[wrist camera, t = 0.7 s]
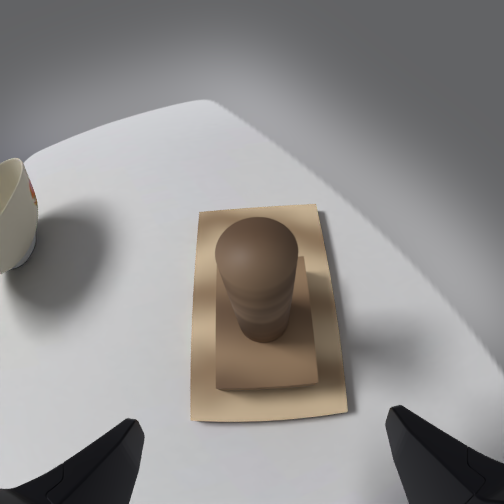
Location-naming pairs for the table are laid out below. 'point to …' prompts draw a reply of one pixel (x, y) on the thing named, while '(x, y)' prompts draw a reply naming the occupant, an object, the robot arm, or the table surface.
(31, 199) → the bowl
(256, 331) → the block
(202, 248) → the oak board
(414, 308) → the table surface
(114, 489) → the robot arm
